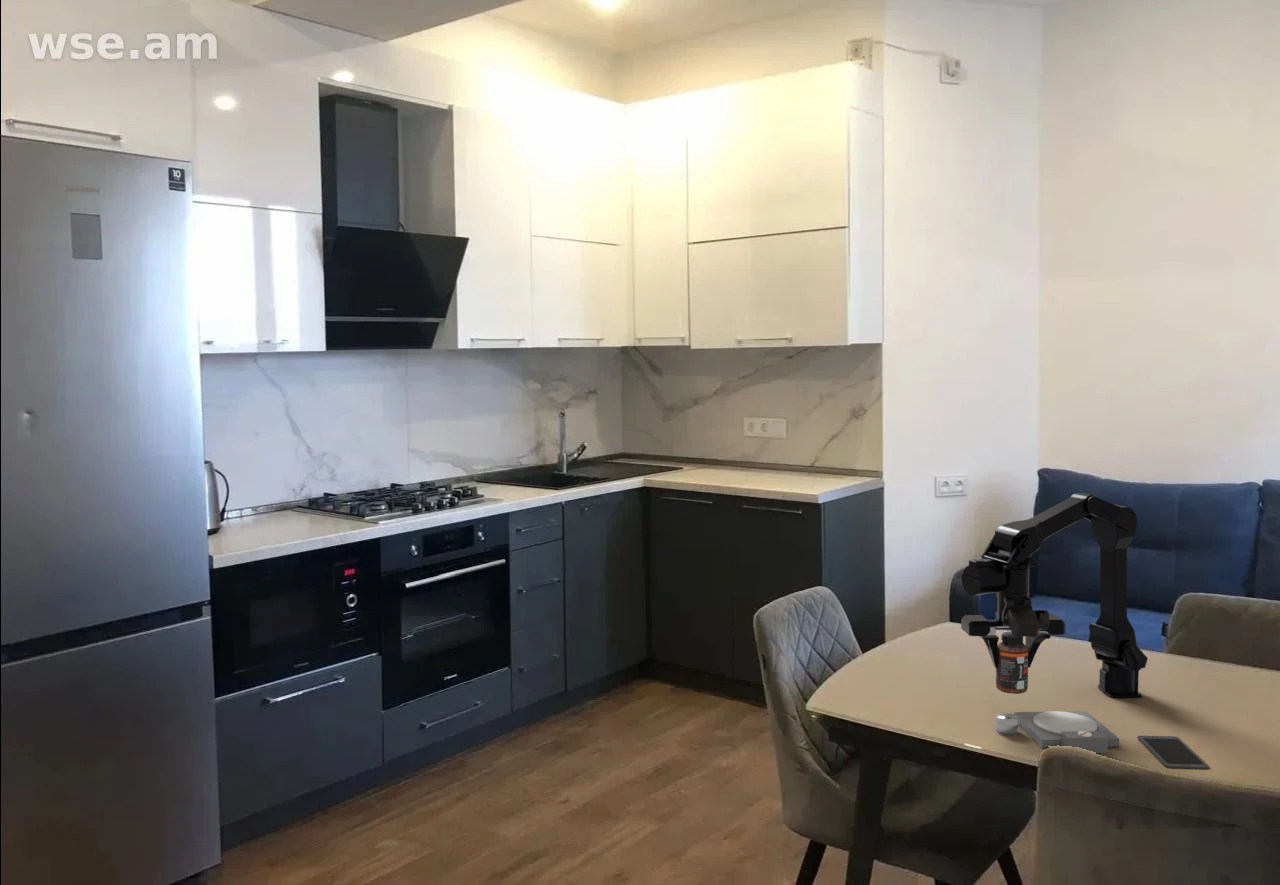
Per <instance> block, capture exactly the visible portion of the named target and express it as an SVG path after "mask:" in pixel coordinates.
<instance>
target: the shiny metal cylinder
mask: <svg viewBox="0 0 1280 885" xmlns="http://www.w3.org/2000/svg"><path fill="white" fill-rule="evenodd" d="M995 732H996V734H998V733H999V734H998V735H1001V734H1002V735H1001V736H1005V735H1006V736H1005V737H1013V736H1014V735H1015V736H1017V735H1019V724H1018V716H1016V715H1014V713H1009V712H1000V713H996V714H995ZM1015 736H1014V737H1015Z"/></svg>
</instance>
